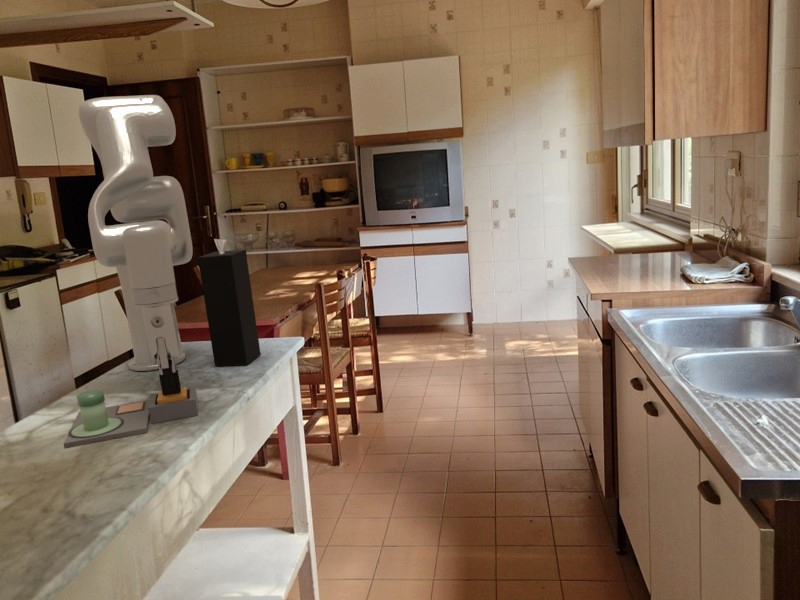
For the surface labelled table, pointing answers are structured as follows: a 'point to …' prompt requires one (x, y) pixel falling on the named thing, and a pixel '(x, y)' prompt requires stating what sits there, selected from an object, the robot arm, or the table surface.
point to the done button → (172, 396)
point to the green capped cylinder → (93, 410)
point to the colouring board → (112, 424)
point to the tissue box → (229, 306)
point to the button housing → (173, 407)
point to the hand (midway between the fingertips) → (172, 392)
